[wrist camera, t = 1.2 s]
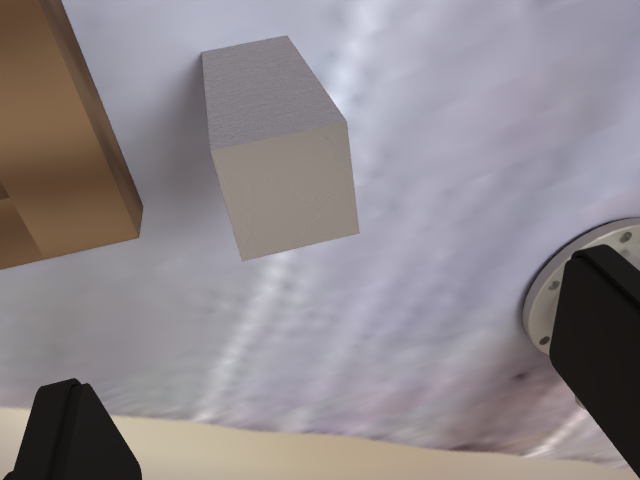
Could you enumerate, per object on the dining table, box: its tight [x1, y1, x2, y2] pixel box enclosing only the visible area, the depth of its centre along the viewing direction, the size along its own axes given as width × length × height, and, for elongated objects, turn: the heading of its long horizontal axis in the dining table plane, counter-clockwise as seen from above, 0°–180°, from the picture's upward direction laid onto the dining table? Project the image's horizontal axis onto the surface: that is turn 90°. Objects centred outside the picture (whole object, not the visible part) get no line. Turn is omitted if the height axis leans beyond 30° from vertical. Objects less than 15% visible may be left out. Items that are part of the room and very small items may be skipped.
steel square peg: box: [202, 35, 359, 261], centre depth 20 cm, size 4×4×11 cm
